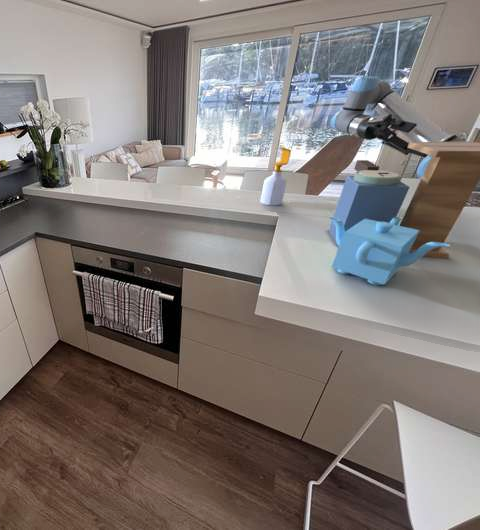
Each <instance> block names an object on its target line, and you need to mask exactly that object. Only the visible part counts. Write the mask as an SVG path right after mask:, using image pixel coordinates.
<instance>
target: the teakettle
mask: <svg viewBox="0 0 480 530" xmlns="http://www.w3.org/2000/svg"><path fill="white" fill-rule="evenodd" d="M328 219H329V220H330V221H331V222H332V221H333V222H334V224H335V226H336V241H337V244H338V247H337V250H336V253H335V257H334V259H333V262H332V263H331V264H332V265H331V268H333V269H336V270H337V272H338V273H340V274H343V275H354V276H356V277H360V278H363V279H365V280H367V282H368V283H369V284H371V285H374V286H382V285H385V284H387V282H389V280H391V278H392V277H393V276H395V274H396V273H397V272H398V271H399V270H400V269H401V267H402V268H403V267H408V266H411V265H414V264H415V263H417V262H418V261H419V260H421V259H422V258H423V257H425V256H424V255H425V254H426V253H427V252H429V251H430V250H432V249H434V248H438V247H442V248H444V247H451V244H449V243H445V242H444V243H440V242H429V243H426V244H424V245H422V246H421V247H420V248H419V249H417V250H416V251H415V252H412V253H409V251H410V249H411V247H412V245H413V243H414V241H415V239H416V237H417V235H418V233H419V230H416V229H411V228H407V227H402V226H399V225H400V223H401V221H402V217H401V216H396V217H394V218H393V219H392V220H391V221H390V223H387V222H379V221H374V220H369V219H364V220H362V221H360V222H359V223H357V224H356V225H354V226H353V227H351V228H350V229H349V230H347V231H346V232H345V228H344V224H343V222H342V221H341V220H339V219H336V218H333V217H328Z"/></svg>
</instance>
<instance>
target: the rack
mask: <svg viewBox="0 0 480 530" xmlns="http://www.w3.org/2000/svg"><path fill="white" fill-rule="evenodd" d="M408 143H409V144H408V148H411V149H413V150H416V151H419V152H422V153H425V154H427V155H430V156H432V157H431V159H430V161H429V163H428V165H427V168H426V170H425V172H424V174H423V176H422V178H421V180H420V179H419V183H418V185H417V186H416V190H415V191H414V193H413V196H412V197H411V200H410V201H409V204H408V206H407V208H406V210H405V212H404V215H403V216H402V218H401V221H400V222H399V224H398V226H402V227H407V228H411V229H416V230H419V233H418V235H417V237H416V239H415V241H414V243H413V245H412V247H411V249H410V251H409V253H412V252H415V251H416V250H417V249H419V248H420V247H421V246H422V245H424V244H426V243H429V242H440V243H445V242H446V240H447V238H448V236H449V234H450V232H451V231H452V229H453V227H454V226H455V224H456V222H457V220H458V219H459V217H460V215H461V213H462V212H463V210H464V208H465V207H466V204H467V203H468V201H469V199H470V198H471V195H472V194H473V192H474V191H475V189H476V188H477V187H476V185H477V183H478V182H479V180H480V142H476V141H472V140H468V141H467V140H466V141H464V140H463V141H460V142H412V141H409V142H408ZM449 256H450V253H449V252H448V251H447V250H445V249H444V247H438V248H434V249H432V250H430V251H429V252H427V253H426V254H425V255H424V256H423V257H429V258H438V259H439V258H440V259H448V257H449Z"/></svg>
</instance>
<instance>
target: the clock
mask: <svg viewBox="0 0 480 530" xmlns="http://www.w3.org/2000/svg"><path fill="white" fill-rule="evenodd" d="M353 169H354V170H355V171H356V172H355V174H354V175H353V176H354V180H355V181H357V182H360V183H365V184H371V185H396V184H399V183H400V181H401V182H402V178H403V174H402V173H398V172H394V171H390V170H380V166H378V165H377V164H375V163H373V162H372V161H370V160H367V159H366V160H365V159H357V160H356V163H355V165H354V168H353Z"/></svg>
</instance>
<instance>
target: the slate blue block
mask: <svg viewBox="0 0 480 530" xmlns="http://www.w3.org/2000/svg"><path fill="white" fill-rule="evenodd" d="M354 176H355V175H346V177H345V181H344V184H343V187H342V190H341V192H340V196H339V199H338V202H337V204H336V208H335V211H334V214H333V216H332V218H336V219H339V220H341V221H342V222H343V224H344V228H345V232H346V231H347V230H349V229H350V228H351V227H353V226H354V225H356V224H357V223H359V222H360V221H362V220H364V219H369V220H374V221H379V222H387V223H390V221H391V220H392V219H393V218H394V217H398V214H399V212H400V209H401V207H402V205H403V203H404V201H405V199H406V196H407V194H408V192H409V189H410V187H411V186H409V185H407V184H405V183H404V182H402V180H401V181H400V183H399V184H396V185H371V184H365V183H360V182H357V181H355V180H354ZM328 233H329V235H330V237H331V238H332V240H333V242H334V244H335V245H336V246H338V244H337V241H336V226H335V224H334V222H333V221H331V223H330V226H329V229H328ZM338 247H339V246H338Z"/></svg>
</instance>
